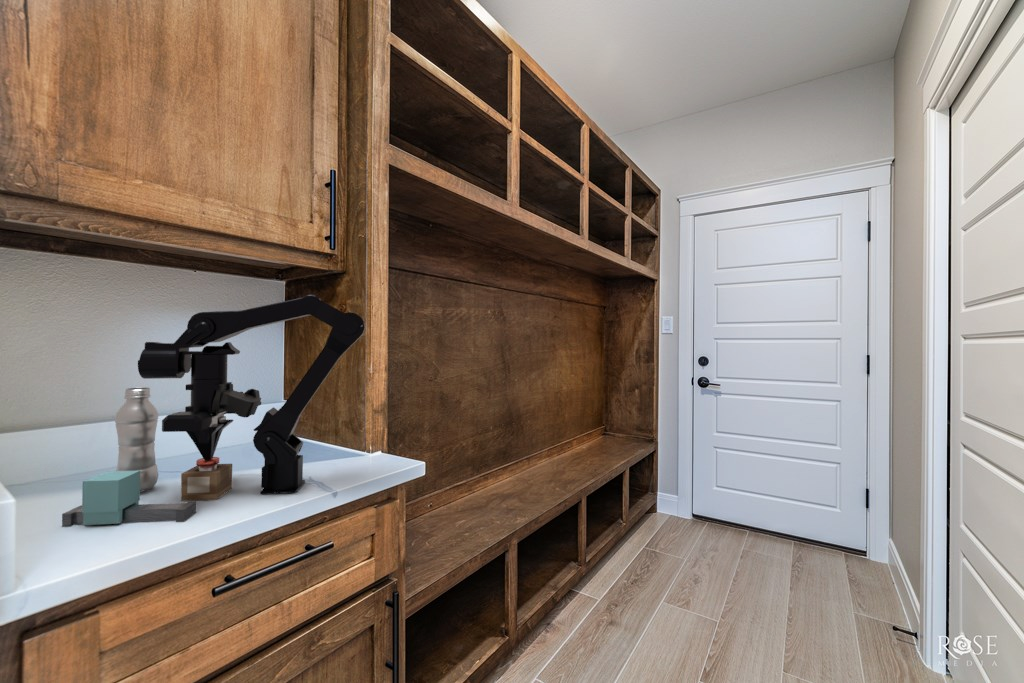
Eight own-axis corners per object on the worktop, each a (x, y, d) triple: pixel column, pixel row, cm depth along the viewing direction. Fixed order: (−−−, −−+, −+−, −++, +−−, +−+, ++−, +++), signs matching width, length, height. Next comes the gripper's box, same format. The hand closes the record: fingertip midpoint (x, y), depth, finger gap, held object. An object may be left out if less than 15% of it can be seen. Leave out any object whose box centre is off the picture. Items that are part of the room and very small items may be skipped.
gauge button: (222, 484, 86) (222, 456, 86) (212, 490, 82) (213, 461, 82) (202, 485, 85) (202, 457, 85) (191, 491, 82) (192, 462, 82)
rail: (196, 512, 75) (196, 501, 75) (183, 521, 72) (184, 509, 72) (80, 517, 72) (80, 505, 72) (62, 526, 69) (62, 514, 69)
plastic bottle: (166, 485, 88) (168, 386, 88) (139, 498, 81) (140, 390, 81) (133, 485, 88) (135, 386, 88) (103, 497, 81) (105, 390, 81)
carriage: (139, 511, 74) (140, 470, 74) (117, 524, 69) (118, 480, 69) (106, 513, 74) (106, 471, 74) (81, 525, 69) (82, 481, 69)
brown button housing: (231, 488, 87) (232, 463, 87) (215, 500, 81) (216, 473, 81) (198, 489, 86) (199, 464, 86) (179, 501, 80) (180, 474, 80)
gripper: (231, 383, 76) (230, 473, 76) (273, 374, 94) (272, 446, 94) (160, 383, 74) (159, 475, 74) (216, 374, 92) (215, 447, 93)
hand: (208, 459), depth 84 cm, fingers closed, pressing on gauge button
